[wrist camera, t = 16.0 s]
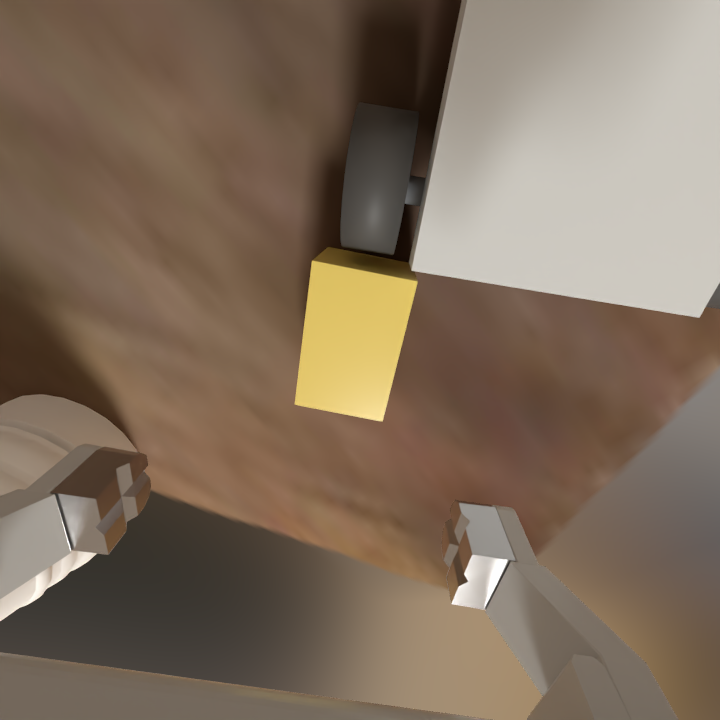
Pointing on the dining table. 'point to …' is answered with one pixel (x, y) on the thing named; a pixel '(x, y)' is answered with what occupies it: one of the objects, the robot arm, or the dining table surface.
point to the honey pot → (46, 464)
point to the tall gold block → (353, 332)
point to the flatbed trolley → (559, 155)
